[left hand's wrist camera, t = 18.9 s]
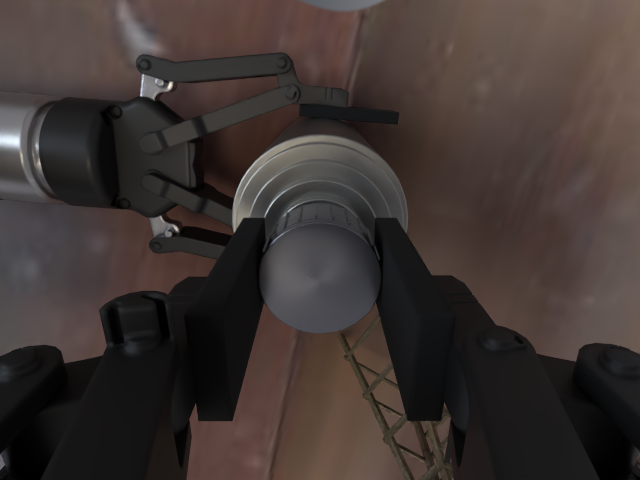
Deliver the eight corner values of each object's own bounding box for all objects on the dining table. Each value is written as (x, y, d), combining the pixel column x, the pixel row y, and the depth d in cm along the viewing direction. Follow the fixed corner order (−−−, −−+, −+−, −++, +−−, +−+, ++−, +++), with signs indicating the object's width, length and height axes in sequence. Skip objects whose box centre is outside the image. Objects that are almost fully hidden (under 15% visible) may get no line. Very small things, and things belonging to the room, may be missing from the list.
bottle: (377, 127, 33) (481, 193, 12) (349, 212, 36) (392, 393, 14) (287, 100, 33) (225, 116, 11) (265, 189, 35) (180, 343, 14)
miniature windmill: (388, 273, 38) (581, 787, 10) (455, 315, 40) (783, 858, 12) (335, 339, 41) (368, 893, 13) (399, 376, 42) (557, 938, 14)
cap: (249, 279, 15) (237, 309, 13) (289, 183, 13) (284, 199, 11) (346, 317, 15) (349, 351, 13) (393, 227, 14) (406, 250, 12)
